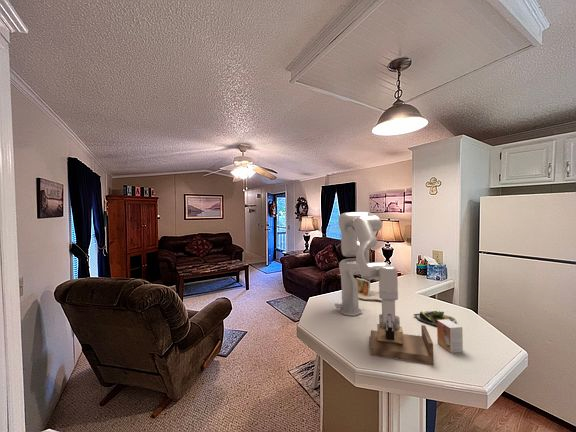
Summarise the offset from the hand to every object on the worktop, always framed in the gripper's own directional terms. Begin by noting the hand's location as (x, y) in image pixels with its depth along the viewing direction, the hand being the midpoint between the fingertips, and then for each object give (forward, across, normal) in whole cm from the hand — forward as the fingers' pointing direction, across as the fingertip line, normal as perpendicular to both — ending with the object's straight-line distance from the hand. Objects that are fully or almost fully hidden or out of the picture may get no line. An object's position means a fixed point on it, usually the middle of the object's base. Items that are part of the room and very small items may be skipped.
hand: (389, 335), depth 107 cm
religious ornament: (+6, -64, -10) cm, 65 cm away
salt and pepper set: (+2, 0, 0) cm, 2 cm away
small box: (+5, -7, +24) cm, 26 cm away
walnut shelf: (+5, 0, +4) cm, 6 cm away
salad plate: (+6, -35, +24) cm, 43 cm away
